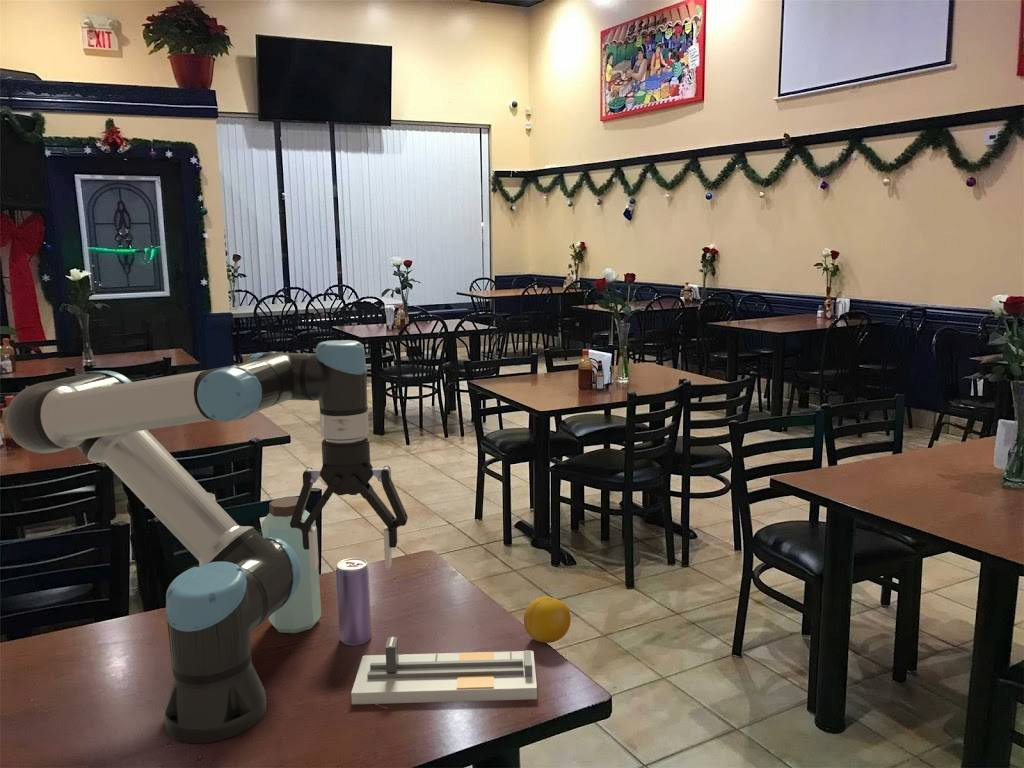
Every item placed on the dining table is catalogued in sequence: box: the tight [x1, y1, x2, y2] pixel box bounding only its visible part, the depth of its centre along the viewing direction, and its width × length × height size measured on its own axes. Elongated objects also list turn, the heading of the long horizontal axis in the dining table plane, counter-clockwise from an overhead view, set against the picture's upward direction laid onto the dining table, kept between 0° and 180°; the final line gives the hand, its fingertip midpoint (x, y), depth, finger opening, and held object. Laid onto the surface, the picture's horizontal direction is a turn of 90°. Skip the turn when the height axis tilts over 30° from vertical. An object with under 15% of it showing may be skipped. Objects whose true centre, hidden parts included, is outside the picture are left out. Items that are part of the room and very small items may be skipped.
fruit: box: [523, 595, 572, 644], centre depth 150 cm, size 9×8×8 cm
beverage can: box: [335, 557, 373, 647], centre depth 151 cm, size 6×6×15 cm
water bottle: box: [261, 496, 322, 634], centre depth 157 cm, size 10×10×25 cm
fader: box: [385, 636, 399, 672], centre depth 136 cm, size 2×4×6 cm, turn 1°
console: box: [350, 649, 538, 705], centre depth 137 cm, size 30×12×4 cm, turn 91°
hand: (351, 566), depth 133 cm, fingers open, 11 cm apart
